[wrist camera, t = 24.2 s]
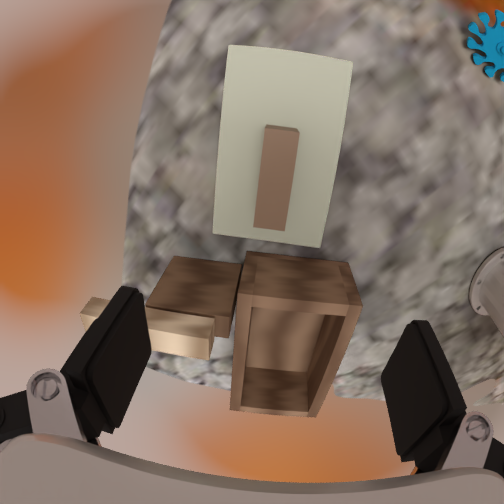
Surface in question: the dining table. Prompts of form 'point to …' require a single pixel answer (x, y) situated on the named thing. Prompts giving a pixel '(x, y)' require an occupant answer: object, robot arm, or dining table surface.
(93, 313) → the bar
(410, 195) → the dining table surface
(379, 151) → the dining table surface
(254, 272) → the brown wooden box
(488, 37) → the blue spiky virus toy
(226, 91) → the lid
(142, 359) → the robot arm
